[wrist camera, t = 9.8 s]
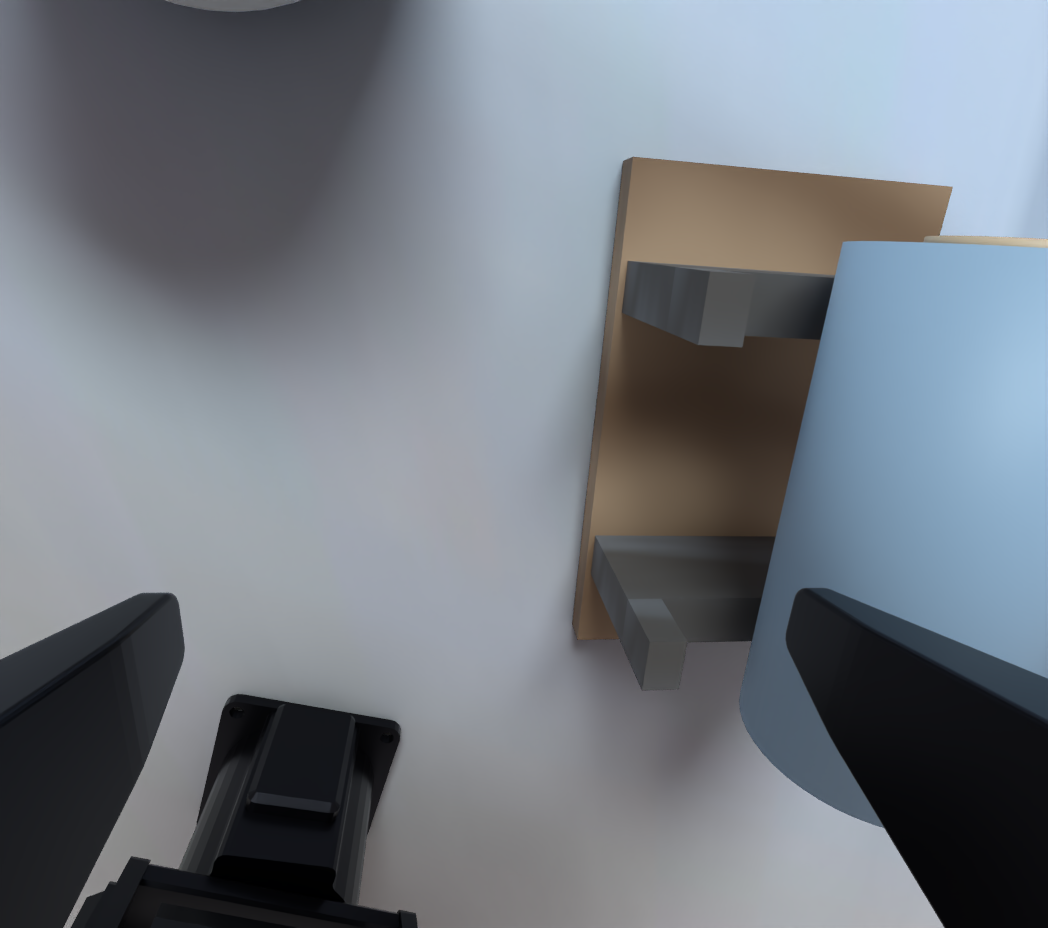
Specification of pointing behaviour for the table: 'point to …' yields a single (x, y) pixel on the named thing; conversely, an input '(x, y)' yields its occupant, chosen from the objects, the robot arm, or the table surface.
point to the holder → (711, 390)
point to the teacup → (233, 4)
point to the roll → (914, 475)
